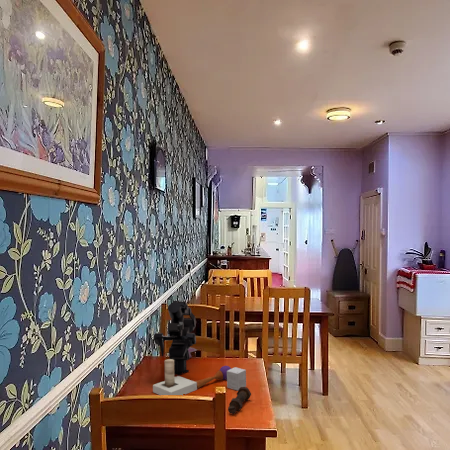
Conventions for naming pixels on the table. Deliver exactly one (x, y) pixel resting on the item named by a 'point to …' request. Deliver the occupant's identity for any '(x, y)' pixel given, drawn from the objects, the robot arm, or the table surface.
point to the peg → (169, 373)
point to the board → (175, 387)
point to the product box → (236, 378)
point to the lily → (191, 350)
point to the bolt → (239, 400)
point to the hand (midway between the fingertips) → (172, 356)
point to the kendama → (219, 375)
